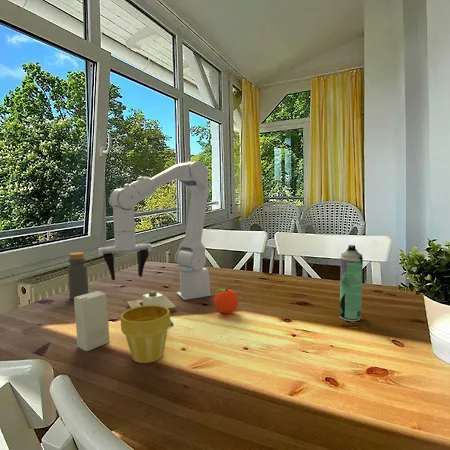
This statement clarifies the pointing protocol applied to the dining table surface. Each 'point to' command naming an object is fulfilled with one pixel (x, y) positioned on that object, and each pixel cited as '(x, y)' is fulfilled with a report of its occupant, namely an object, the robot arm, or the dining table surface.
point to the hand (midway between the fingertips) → (126, 277)
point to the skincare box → (91, 320)
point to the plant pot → (146, 331)
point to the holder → (137, 303)
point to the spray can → (351, 284)
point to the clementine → (226, 301)
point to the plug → (153, 299)
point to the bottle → (77, 275)
